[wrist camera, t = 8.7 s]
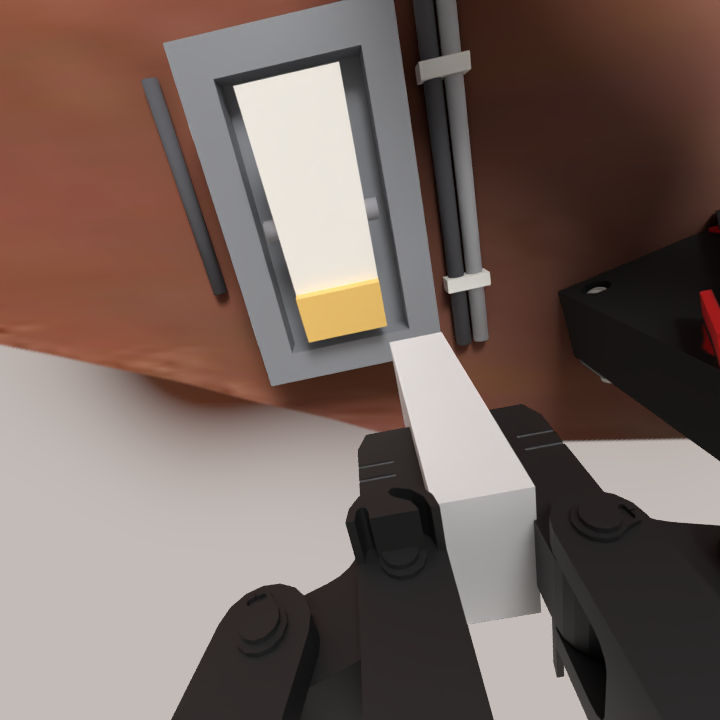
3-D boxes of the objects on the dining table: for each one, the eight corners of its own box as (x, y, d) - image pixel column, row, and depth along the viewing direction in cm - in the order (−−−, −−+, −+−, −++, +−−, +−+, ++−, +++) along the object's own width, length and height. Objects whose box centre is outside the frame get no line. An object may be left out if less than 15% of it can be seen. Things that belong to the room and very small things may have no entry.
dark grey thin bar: (145, 83, 28) (138, 80, 27) (159, 80, 28) (153, 76, 27) (216, 292, 33) (212, 295, 32) (228, 290, 33) (225, 293, 32)
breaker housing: (193, 72, 28) (158, 44, 22) (380, 28, 27) (392, -11, 22) (278, 355, 35) (268, 387, 30) (426, 323, 35) (443, 350, 29)
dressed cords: (403, -18, 27) (407, -29, 25) (454, -30, 26) (461, -42, 25) (451, 342, 36) (456, 348, 34) (489, 334, 36) (495, 340, 34)
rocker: (224, 88, 21) (215, 89, 20) (351, 59, 21) (355, 57, 19) (299, 330, 29) (298, 347, 27) (393, 310, 29) (398, 326, 27)
